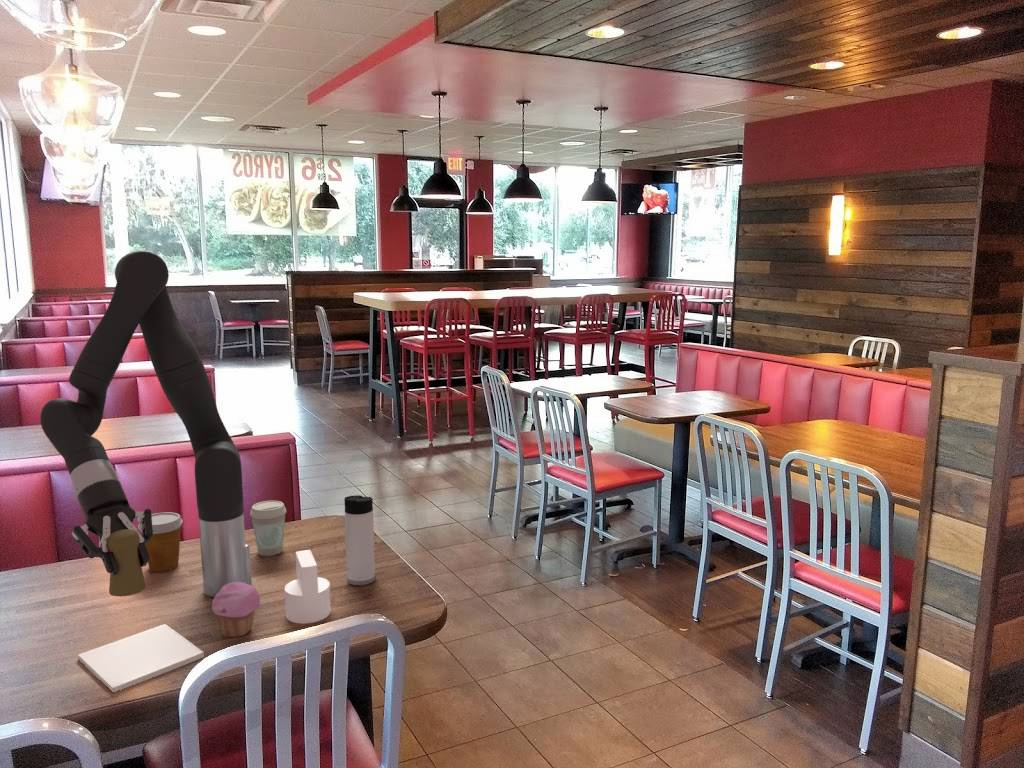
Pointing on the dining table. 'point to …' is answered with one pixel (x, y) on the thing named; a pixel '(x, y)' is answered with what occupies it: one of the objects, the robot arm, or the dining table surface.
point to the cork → (126, 563)
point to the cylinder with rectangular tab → (307, 592)
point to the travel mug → (359, 540)
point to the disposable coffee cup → (164, 541)
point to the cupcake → (235, 608)
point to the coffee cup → (268, 526)
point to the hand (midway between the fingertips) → (130, 568)
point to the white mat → (140, 657)
